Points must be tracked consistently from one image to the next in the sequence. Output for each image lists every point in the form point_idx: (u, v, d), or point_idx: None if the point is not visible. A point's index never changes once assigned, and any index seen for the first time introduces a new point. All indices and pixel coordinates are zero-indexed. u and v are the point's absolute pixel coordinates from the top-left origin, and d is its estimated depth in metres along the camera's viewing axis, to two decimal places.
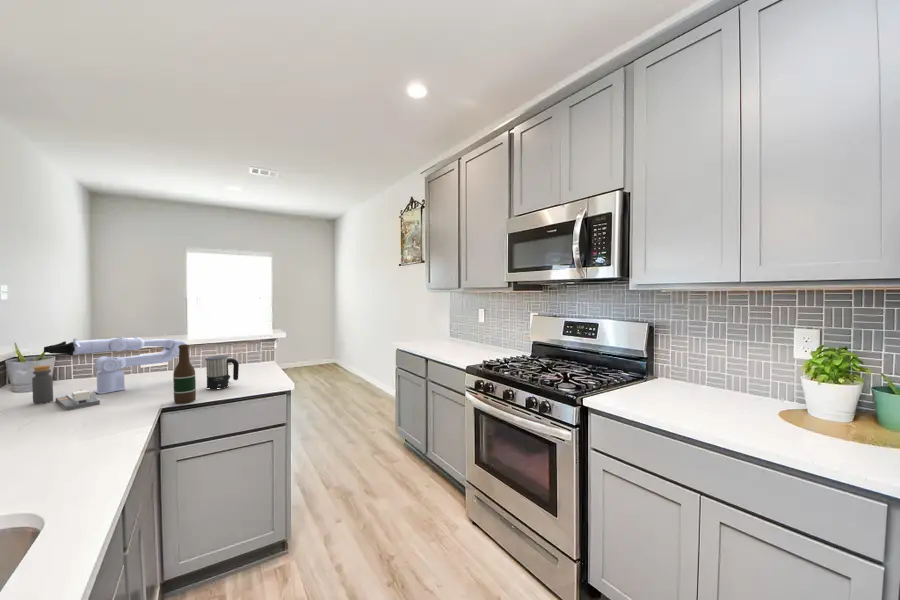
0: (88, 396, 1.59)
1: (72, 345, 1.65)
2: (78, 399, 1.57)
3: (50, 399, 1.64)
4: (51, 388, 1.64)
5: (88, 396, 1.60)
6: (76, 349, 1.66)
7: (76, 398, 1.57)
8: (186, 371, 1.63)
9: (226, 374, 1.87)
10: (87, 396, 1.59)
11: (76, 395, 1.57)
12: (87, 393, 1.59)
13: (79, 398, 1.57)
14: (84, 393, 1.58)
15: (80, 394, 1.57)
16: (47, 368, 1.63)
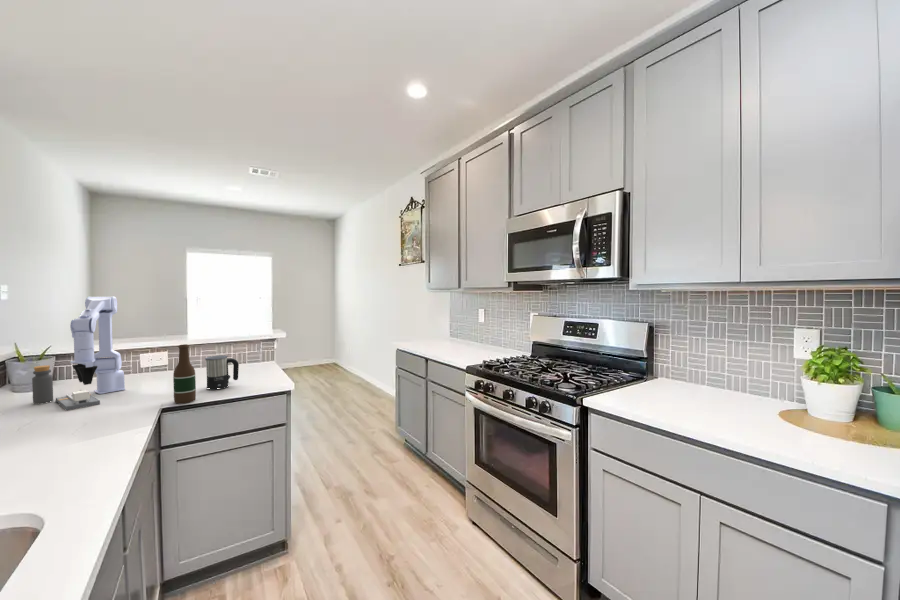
0: (88, 396, 1.59)
1: (83, 368, 1.50)
2: (78, 399, 1.57)
3: (50, 399, 1.64)
4: (51, 388, 1.64)
5: (88, 396, 1.60)
6: (90, 366, 1.50)
7: (76, 398, 1.57)
8: (186, 371, 1.63)
9: (226, 374, 1.87)
10: (87, 396, 1.59)
11: (76, 395, 1.57)
12: (87, 393, 1.59)
13: (79, 398, 1.57)
14: (84, 393, 1.58)
15: (80, 394, 1.57)
16: (47, 368, 1.63)
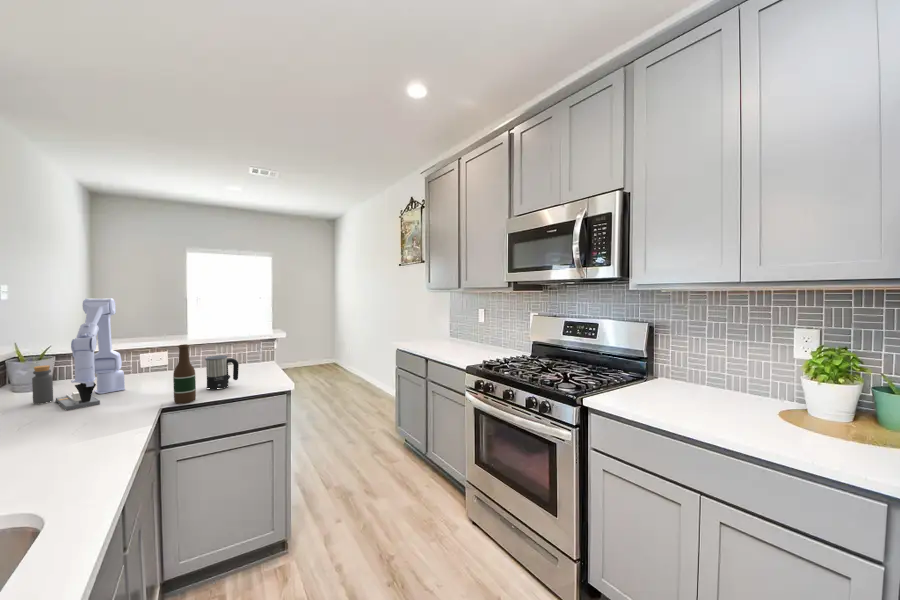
0: None
1: (81, 386, 1.52)
2: (78, 399, 1.57)
3: (50, 399, 1.64)
4: (51, 388, 1.64)
5: None
6: (90, 385, 1.50)
7: (76, 398, 1.57)
8: (186, 371, 1.63)
9: (226, 374, 1.87)
10: None
11: (76, 395, 1.57)
12: None
13: (79, 398, 1.57)
14: None
15: None
16: (47, 368, 1.63)
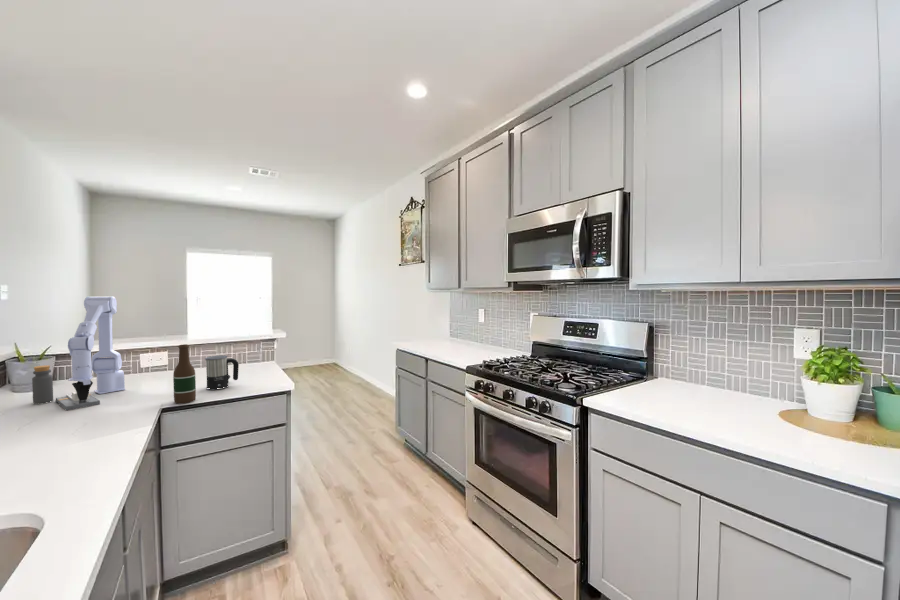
0: (88, 396, 1.60)
1: (78, 385, 1.54)
2: (78, 399, 1.57)
3: (50, 399, 1.64)
4: (51, 388, 1.64)
5: (88, 396, 1.60)
6: (87, 383, 1.53)
7: (76, 398, 1.57)
8: (186, 371, 1.63)
9: (226, 374, 1.87)
10: None
11: (76, 395, 1.57)
12: None
13: None
14: None
15: None
16: (47, 368, 1.63)
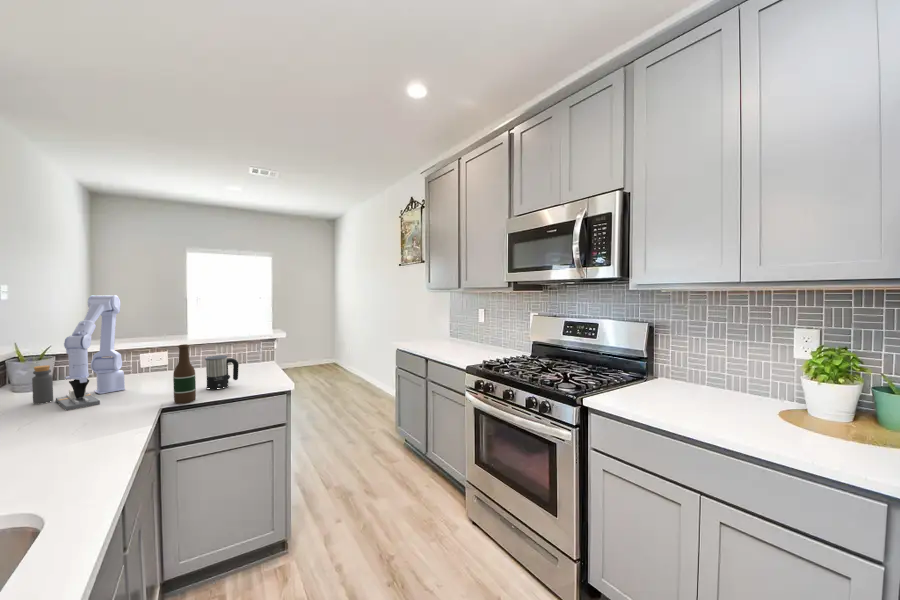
0: (84, 394, 1.63)
1: (75, 382, 1.58)
2: (74, 396, 1.60)
3: (50, 399, 1.64)
4: (51, 388, 1.64)
5: (84, 393, 1.63)
6: (84, 381, 1.56)
7: (72, 395, 1.60)
8: (186, 371, 1.63)
9: (226, 374, 1.88)
10: None
11: (72, 392, 1.60)
12: None
13: None
14: None
15: None
16: (47, 368, 1.63)
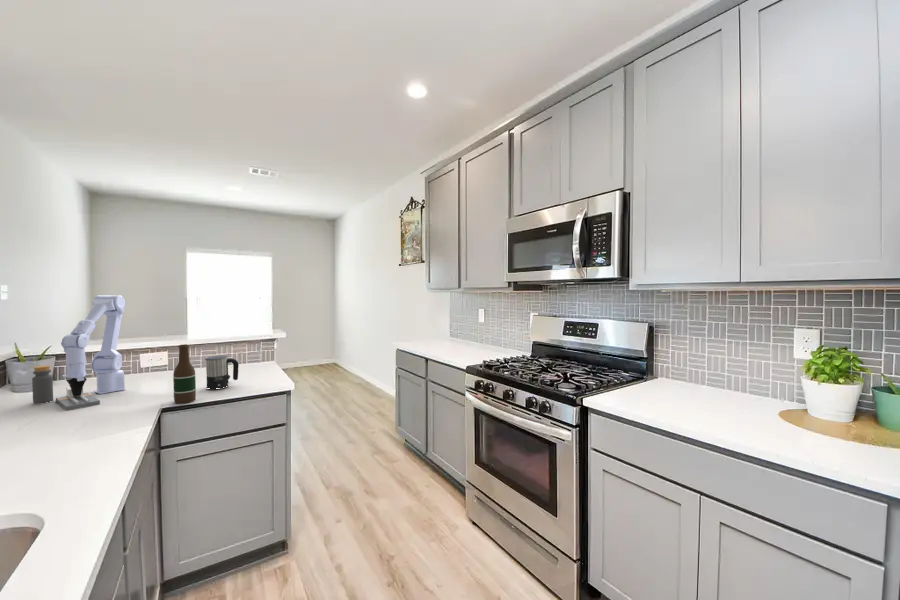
0: (82, 392, 1.65)
1: (72, 381, 1.60)
2: (72, 395, 1.63)
3: (50, 399, 1.64)
4: (51, 388, 1.64)
5: (82, 392, 1.65)
6: (81, 379, 1.59)
7: (70, 394, 1.62)
8: (186, 371, 1.63)
9: (226, 374, 1.88)
10: None
11: (70, 391, 1.62)
12: None
13: None
14: None
15: None
16: (47, 368, 1.63)
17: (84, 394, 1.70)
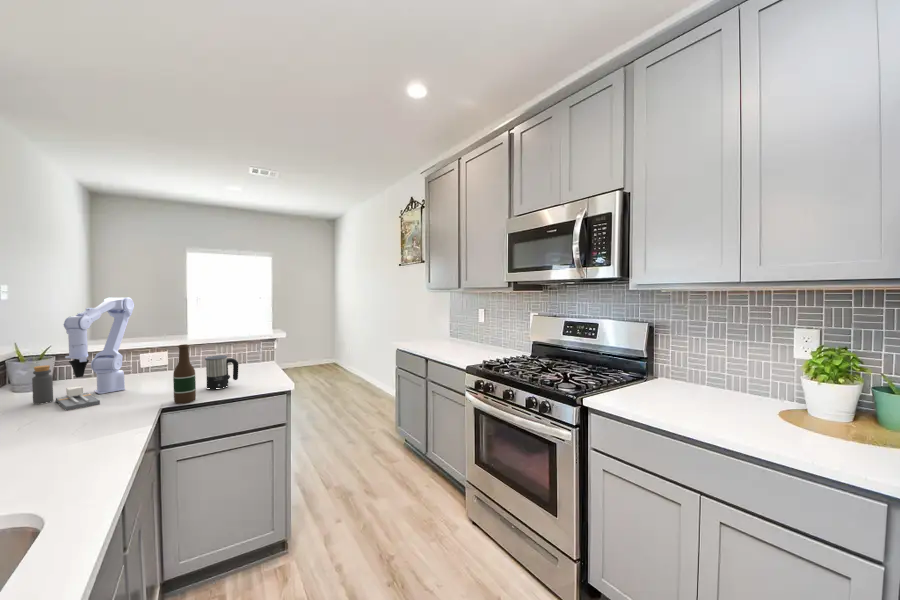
0: (82, 392, 1.65)
1: (75, 362, 1.62)
2: (72, 395, 1.63)
3: (50, 399, 1.64)
4: (51, 388, 1.64)
5: (82, 392, 1.66)
6: (84, 360, 1.60)
7: (70, 394, 1.63)
8: (186, 371, 1.63)
9: (226, 374, 1.88)
10: (80, 391, 1.65)
11: (70, 391, 1.63)
12: (81, 389, 1.65)
13: (73, 393, 1.63)
14: (78, 389, 1.64)
15: (74, 390, 1.64)
16: (47, 368, 1.63)
17: (84, 394, 1.70)
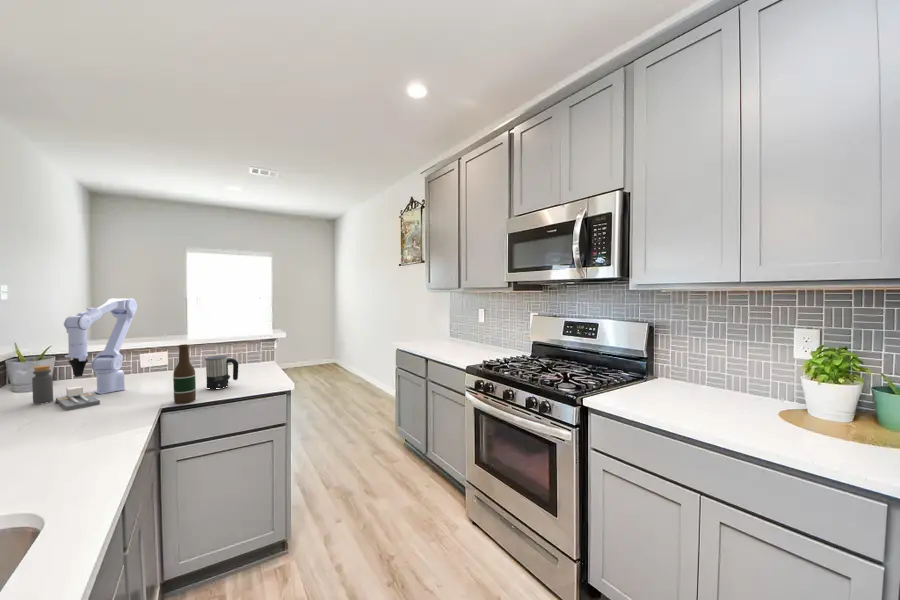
0: (82, 392, 1.65)
1: (74, 361, 1.62)
2: (72, 395, 1.63)
3: (50, 399, 1.64)
4: (51, 388, 1.64)
5: (82, 392, 1.66)
6: (83, 359, 1.61)
7: (70, 394, 1.63)
8: (186, 371, 1.63)
9: (226, 374, 1.88)
10: (80, 391, 1.65)
11: (70, 391, 1.63)
12: (81, 389, 1.65)
13: (73, 393, 1.63)
14: (78, 389, 1.64)
15: (74, 390, 1.64)
16: (47, 368, 1.63)
17: (84, 394, 1.70)
